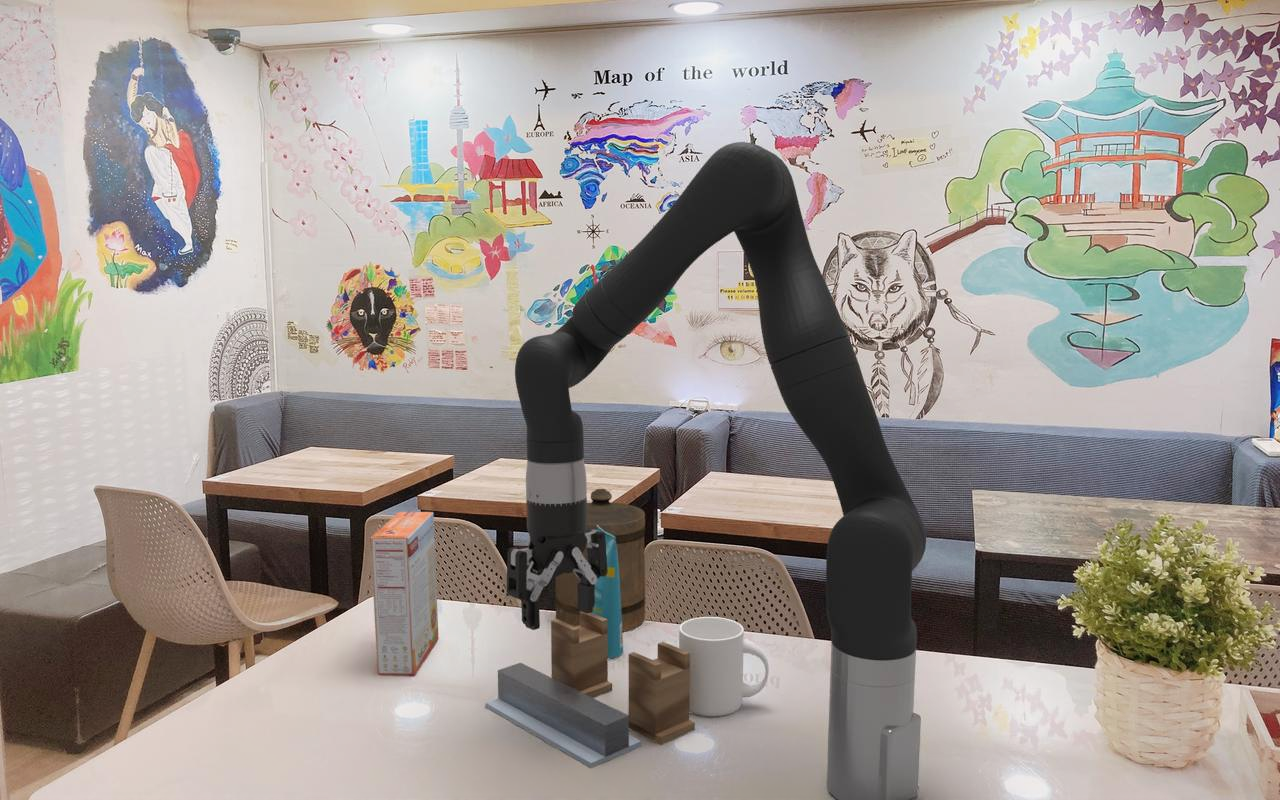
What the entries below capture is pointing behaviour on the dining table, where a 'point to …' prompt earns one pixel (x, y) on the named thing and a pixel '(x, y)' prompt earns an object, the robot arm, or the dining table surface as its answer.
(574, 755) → the mat
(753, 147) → the robot arm
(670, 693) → the post
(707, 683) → the mug
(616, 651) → the tube
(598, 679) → the post
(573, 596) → the wooden container
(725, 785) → the dining table surface
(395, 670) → the cracker box
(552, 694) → the rail
